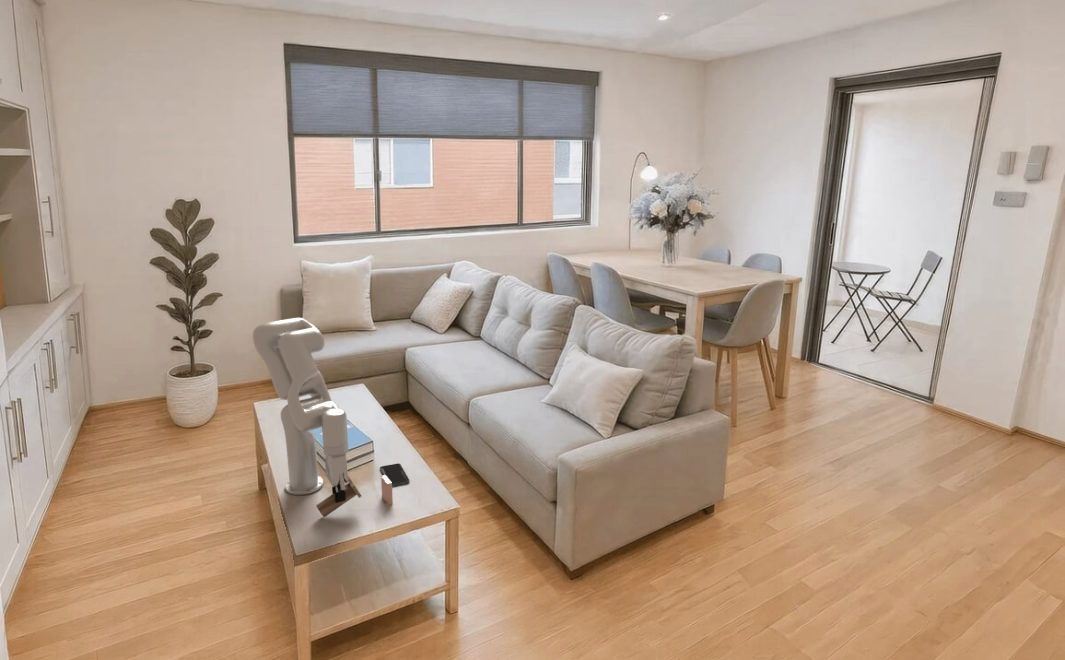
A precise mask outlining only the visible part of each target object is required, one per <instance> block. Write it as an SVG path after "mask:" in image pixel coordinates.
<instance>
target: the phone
mask: <svg viewBox="0 0 1065 660" xmlns="http://www.w3.org/2000/svg"><path fill="white" fill-rule="evenodd" d="M379 471H380V473H381V476H384V475H386V476H387V477H388V479H389V480H390V481H391V482H392V488H393V486H394V487H399V486H403V484H404V485H408V484H409V483H410V479H409V476H408V475H407V473H406V472H405V469H404V467H403V466H402V464H401V463H393V464H386V465H381V466H380V467H379ZM398 485H399V486H398Z"/></svg>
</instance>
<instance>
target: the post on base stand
mask: <svg viewBox="0 0 1065 660" xmlns="http://www.w3.org/2000/svg"><path fill="white" fill-rule="evenodd" d="M356 496H357V497H358V498H359V499H360V498H361V497H362V495H361V493H360V491H359V490H358V488H357V487H356V485H355V483H354V482H353V481H352V479H351V478H350V476H349V475H348V482H347V483H346V484H345V497H346V500H345V501H342V502H338V503H336V502H335V493H334V494H331V495H329V496H327V497H326V498H324V500H321V502H319V503H317V504H316V505H315V507H316V508H317V510H318V511H319V513H320V514H321V516H322V517H323V518H326V517H327V516H329V515H330V514H331V513H333V512H334V511H336V510H337V509H339V508H340V507H342V506H343V505H345V504H346V503H347V502H349V501H351V499H353V498H354V497H356Z"/></svg>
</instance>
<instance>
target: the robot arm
mask: <svg viewBox="0 0 1065 660" xmlns="http://www.w3.org/2000/svg"><path fill="white" fill-rule="evenodd" d="M252 339H253V340H252V341H253V346H254V347H255V349H256V352H257V353H258V355H259V357H260V358H261V359H262V361H264V363H265V365H266V367H267V370H268V373H269V376H270V378H271V382H272V384H273V386H274V390H275V391H276V395H277V396H278V398H279V399H280V400H282V401H287V404H286V405H285V406H284V407H283V408H282V409H281V411H280V420H281V423H282V427H283V431H284V437H285V444H286V445H285V447H286V453H287V454H286V456H287V466H288V467H287V469H288V480H287V481H286V483H285V485H284V488H285V489H284V490H285V491H286V492H287V493H288V494H291V495H295V496H303V495H304V496H305V495H309V494H313V493H315V492H317V491H318V490H320V489H321V488H323V486H324V479H323V477H321V476H320V475H319V472H318V471H319V467H318V456H317V454H318V453H317V441H316V437H315V435H314V434H313V433H312V432H311V431H313V430H316V429H319V428H321V433H322V447H323V454H324V459H325V460H324V461H325V462H324V463H325V476H326V478H327V479H328V481H329V483H330V484H331V489H332V490H331V492H332V494H334V493H335V502H336V503H338V502H342V501H345V500H346V497H345V485H346V484H348V483H349V482H348V476H349V471H348V470H349V469H348V463H347V462H348V461H347V460H348V459H347V454H348V452H349V437H348V434H349V433H348V419H347V418H348V417H347V412H346V411H345V410H344V409H342V408H340V407H339V405H338V404H337V403H336V402H335V401H333V400H332V398H331V396H330V392H329V390H328V388H327V384H326V381H325V379H324V376H323V374H322V372H320V370H319V369H318V366H317V364H316V362H315V360H314V357H313V355H312V354H315V353H318V352H320V351H322V350H324V348H325V339H324V335H323V333H322V332H321V331H320V329H319V328H318V327H317V326H315V325H314V324H312V323H311V322H309V321H308V320H306V319H305V318H303V317H291V318H285V319H279V320H273V321H268V322H264V323H261V324H259V325H257V326H256V327H255V328H254V329H253V332H252ZM305 396H310V397H308V398H304V399H300V398H301V397H305ZM332 494H331V495H332Z"/></svg>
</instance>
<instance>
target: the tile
mask: <svg viewBox="0 0 1065 660" xmlns="http://www.w3.org/2000/svg"><path fill="white" fill-rule="evenodd" d="M380 480H381V481H380V483H381V497H382V499H383V501H384V502H385V503H386V505H387V506H392V504H393V503H394V502H393V487H392V482H391V481H390V480H389V479H388V477H387V476H386V475H384V476H383V475H381V476H380Z"/></svg>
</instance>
